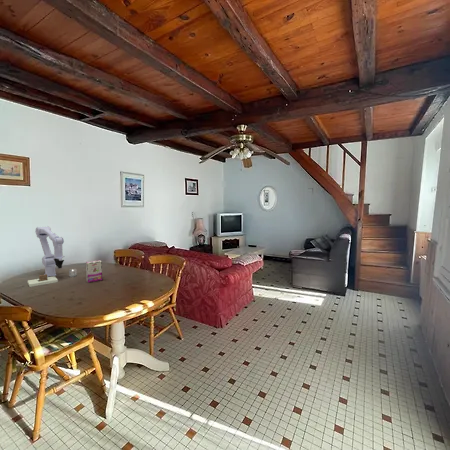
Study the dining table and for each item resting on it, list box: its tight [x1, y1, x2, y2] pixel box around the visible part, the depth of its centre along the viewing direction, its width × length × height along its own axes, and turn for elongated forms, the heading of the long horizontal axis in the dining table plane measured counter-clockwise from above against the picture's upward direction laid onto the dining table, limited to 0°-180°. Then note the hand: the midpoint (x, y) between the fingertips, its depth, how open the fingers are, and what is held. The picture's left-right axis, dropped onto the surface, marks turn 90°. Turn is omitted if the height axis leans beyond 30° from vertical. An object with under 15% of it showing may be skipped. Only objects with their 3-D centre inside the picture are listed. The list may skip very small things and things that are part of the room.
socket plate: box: [27, 275, 59, 288], centre depth 194 cm, size 12×18×2 cm, turn 135°
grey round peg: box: [68, 268, 78, 278], centre depth 212 cm, size 6×6×6 cm
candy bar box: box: [85, 259, 103, 283], centre depth 201 cm, size 11×5×16 cm, turn 129°
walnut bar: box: [38, 273, 47, 281], centre depth 194 cm, size 3×5×6 cm, turn 135°
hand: (58, 267), depth 205 cm, fingers open, 7 cm apart
